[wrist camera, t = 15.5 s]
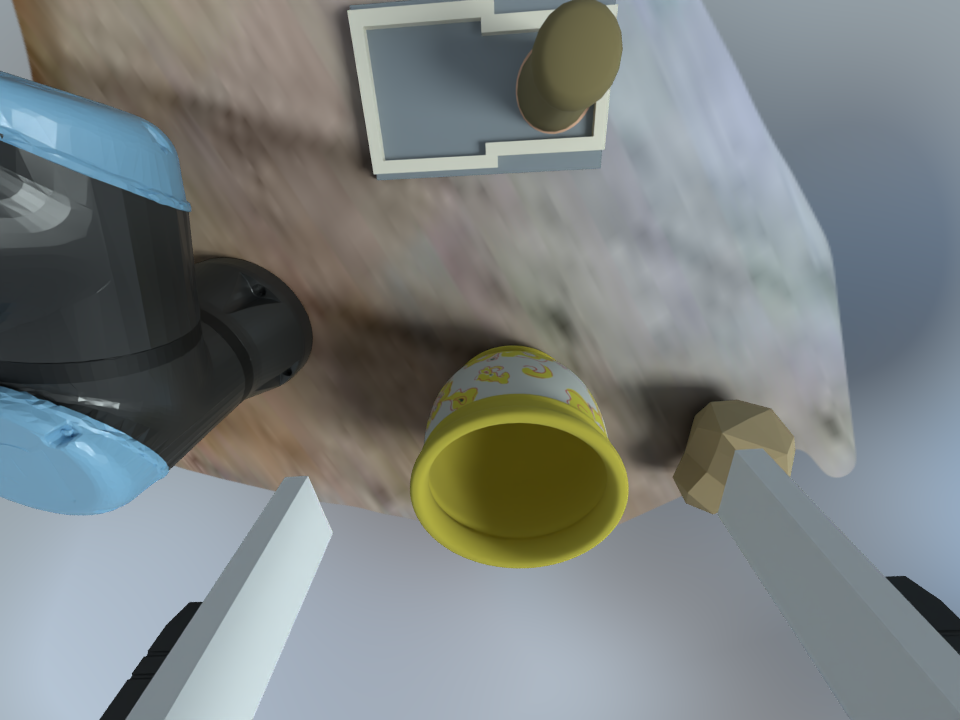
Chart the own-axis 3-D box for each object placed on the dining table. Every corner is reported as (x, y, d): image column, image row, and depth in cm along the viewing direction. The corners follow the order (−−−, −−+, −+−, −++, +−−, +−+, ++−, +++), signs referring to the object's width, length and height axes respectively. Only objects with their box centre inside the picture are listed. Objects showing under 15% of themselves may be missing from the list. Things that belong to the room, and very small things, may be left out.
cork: (505, 65, 29) (509, 15, 20) (579, 23, 28) (622, -53, 18) (532, 145, 32) (547, 136, 22) (601, 110, 31) (649, 84, 21)
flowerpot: (587, 445, 48) (625, 566, 34) (451, 455, 50) (431, 574, 35) (586, 316, 40) (636, 402, 25) (424, 333, 42) (384, 423, 27)
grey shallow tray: (380, 179, 35) (374, 180, 33) (353, 10, 29) (345, 1, 28) (597, 168, 33) (602, 168, 32) (613, -12, 28) (620, -22, 26)
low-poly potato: (734, 358, 42) (659, 410, 39) (849, 420, 34) (765, 489, 32) (708, 434, 52) (646, 480, 49) (791, 495, 44) (724, 552, 42)
